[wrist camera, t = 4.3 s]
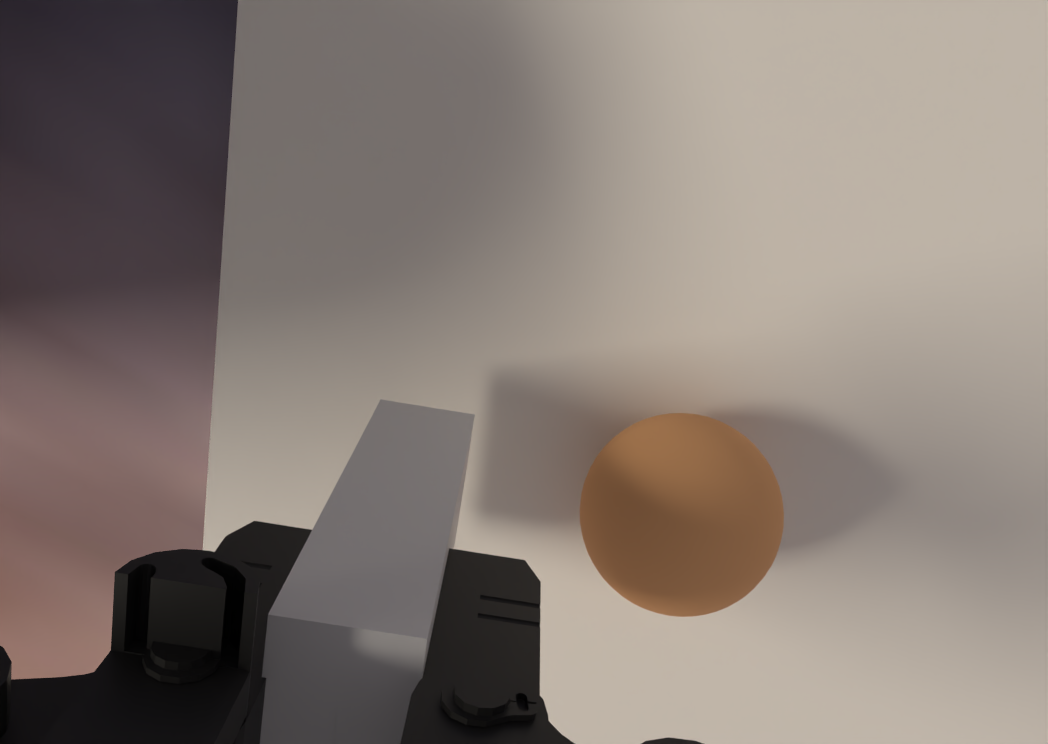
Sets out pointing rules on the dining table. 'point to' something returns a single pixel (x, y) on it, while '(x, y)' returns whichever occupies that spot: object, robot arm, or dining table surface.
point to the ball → (681, 514)
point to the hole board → (672, 325)
